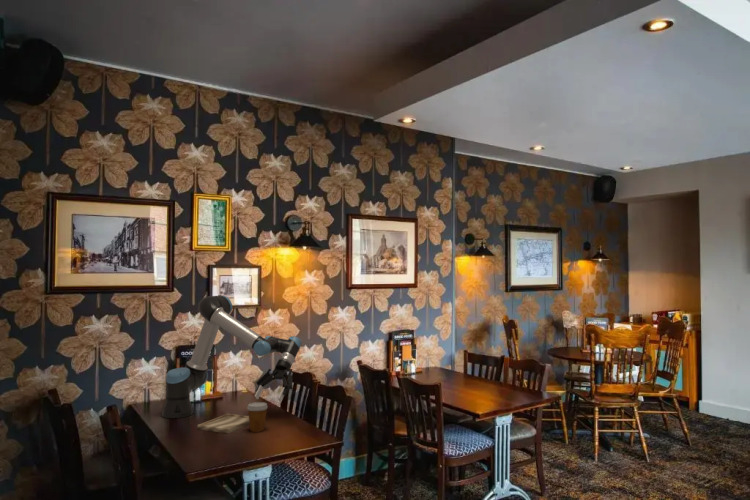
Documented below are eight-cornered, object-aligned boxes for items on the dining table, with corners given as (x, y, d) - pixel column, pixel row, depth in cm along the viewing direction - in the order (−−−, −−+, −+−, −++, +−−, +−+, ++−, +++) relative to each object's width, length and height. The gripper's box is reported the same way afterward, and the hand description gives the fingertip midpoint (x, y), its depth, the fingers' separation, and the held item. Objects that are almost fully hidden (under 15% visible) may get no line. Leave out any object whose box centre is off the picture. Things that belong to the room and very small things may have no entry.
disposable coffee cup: (271, 428, 244) (271, 403, 245) (259, 434, 236) (259, 407, 236) (255, 426, 248) (255, 401, 249) (242, 431, 240) (242, 405, 240)
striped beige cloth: (197, 429, 243) (197, 424, 244) (227, 417, 264) (227, 413, 264) (227, 433, 236) (228, 429, 236) (256, 421, 257) (256, 417, 257)
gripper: (261, 357, 267) (243, 392, 253) (303, 360, 258) (286, 397, 243) (267, 366, 272) (249, 401, 257) (308, 369, 262) (292, 405, 248)
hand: (267, 399), depth 250 cm, fingers open, 13 cm apart
